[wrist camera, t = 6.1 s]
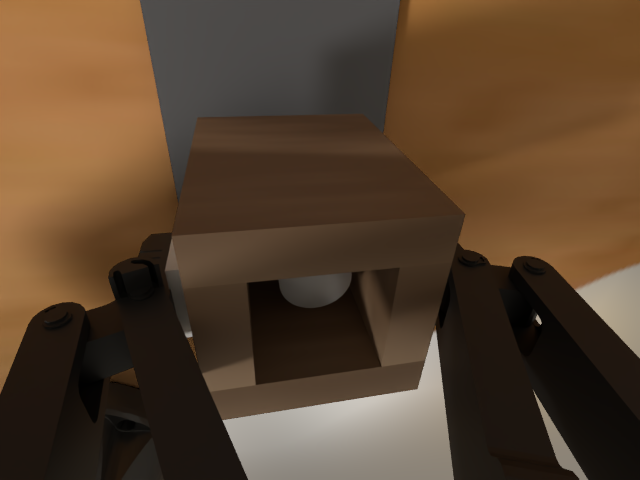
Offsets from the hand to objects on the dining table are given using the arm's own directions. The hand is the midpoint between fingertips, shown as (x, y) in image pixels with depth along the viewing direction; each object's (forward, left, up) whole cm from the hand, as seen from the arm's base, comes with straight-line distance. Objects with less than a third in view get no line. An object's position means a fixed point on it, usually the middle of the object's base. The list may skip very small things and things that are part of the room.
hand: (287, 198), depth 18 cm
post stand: (0, 0, -6) cm, 6 cm away
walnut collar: (0, 0, -1) cm, 1 cm away
